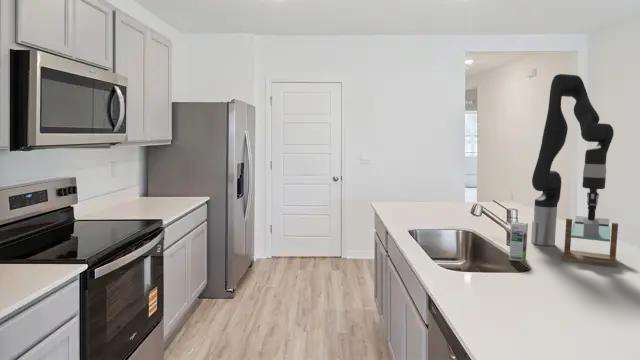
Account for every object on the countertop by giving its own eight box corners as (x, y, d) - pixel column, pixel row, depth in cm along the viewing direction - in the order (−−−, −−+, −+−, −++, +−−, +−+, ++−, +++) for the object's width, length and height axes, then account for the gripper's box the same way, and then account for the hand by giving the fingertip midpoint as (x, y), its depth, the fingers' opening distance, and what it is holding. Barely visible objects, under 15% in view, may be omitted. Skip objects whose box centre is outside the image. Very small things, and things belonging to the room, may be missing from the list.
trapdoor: (573, 224, 201) (574, 215, 200) (609, 228, 194) (610, 219, 193) (570, 243, 184) (570, 233, 183) (609, 247, 177) (610, 238, 176)
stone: (583, 235, 182) (583, 223, 180) (582, 230, 186) (583, 218, 185) (598, 236, 180) (599, 224, 178) (597, 231, 184) (598, 219, 182)
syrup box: (508, 260, 183) (510, 223, 182) (510, 257, 189) (512, 221, 187) (524, 262, 181) (527, 224, 179) (526, 258, 186) (528, 222, 185)
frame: (565, 251, 201) (567, 217, 199) (615, 257, 191) (617, 221, 190) (561, 260, 184) (564, 223, 183) (616, 267, 175) (618, 229, 174)
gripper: (605, 177, 173) (602, 222, 174) (605, 175, 185) (602, 217, 186) (582, 176, 176) (579, 220, 178) (583, 174, 189) (581, 215, 190)
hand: (591, 218), depth 182 cm, fingers open, 6 cm apart
